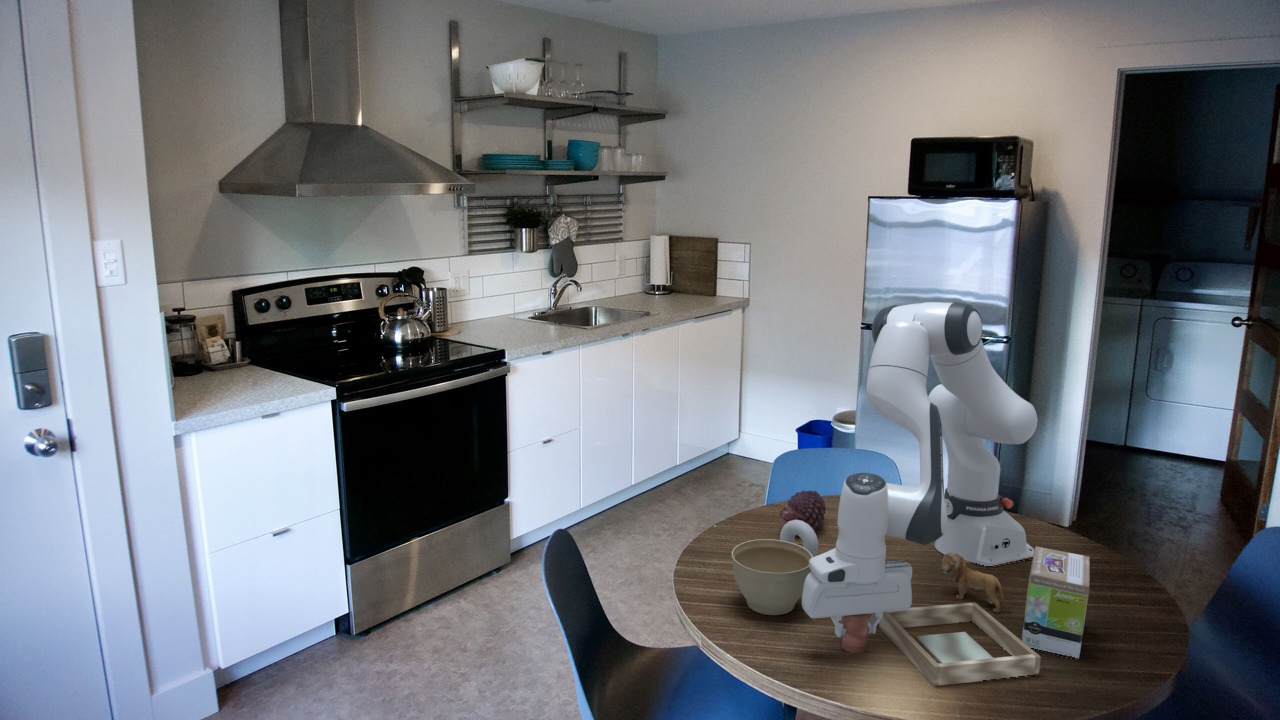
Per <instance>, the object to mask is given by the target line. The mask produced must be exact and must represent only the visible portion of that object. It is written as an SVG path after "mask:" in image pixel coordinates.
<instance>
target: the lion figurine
mask: <svg viewBox="0 0 1280 720" xmlns="http://www.w3.org/2000/svg"><path fill="white" fill-rule="evenodd" d="M941 569H942V571H943V572H942V573H944V574H946V575H947V576H948V577H950V580H951V581H953V583H957V587H958V588H957V589H958V594H955V598H956V599H957V600H961V599H963V598H964V596H965V594H966V593H967V590H968V587H970V588H972V589H975V590H985V593H986V595H987V597H988V600H987V603H988V602H989V603H992V604H991V605H994V606H995V607H994V608H992V612H993V611H994V612H999V613H1000V612H1001V609H1002V608H1001V602H1002V606H1004V608H1005V609H1006V610H1007V611H1008V612H1009V611H1010V612H1012V611H1013V609H1012V608H1011V607H1009V606H1008V605H1007V604H1006V602H1005V597H1004V592H1003V588H1002V585H1001V583H1000V581H999V579H998V577H996V576H994V575H993V574H988V573H983V572H981V571H979V570H976V569H974V567H973V565H972V564H971V562H967V560H964V558H963V557H961V556H959V555H958V554H955V553H952V552H950V553H947V554H943V558H942V563H941ZM998 591H999V595H1000V598H1001V602H1000V601H999V599H998V598H997V594H998ZM989 603H988V604H989ZM993 603H994V604H993ZM994 612H993V613H994Z"/></svg>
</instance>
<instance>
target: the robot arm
mask: <svg viewBox="0 0 1280 720" xmlns="http://www.w3.org/2000/svg"><path fill="white" fill-rule="evenodd" d="M871 325H872V326H871V336H872V340H873V343H874V348H873V351H872V354H871V358H870V361H869V365H868V366H869V367H868V370H867V371H868V373H867V377H866V391H865V393H866V398H867V400H868V402H869V404H870V405H871V408H873V409H874V410H875V412H877V413H878V414H879V415H880V416H882V417H883V418H885V419H886V420H888V421H889V422H891V423H893V424H895V425H897V426H899V427H900V428H903V429H904V430H906V431H908V432H910V433H911V434H912V435H913V436H914V437H915V438H916V440H917V442H918V444H919V473H920V474H919V475H920V476H919V477H920V478H919V479H920V480H919V481H920V483H919V485H917V486H909V485H902V484H897V483H891V482H887V481H886V480H885V479H884V478H883V477H881V476H879V475H877V474H875V473H871V472H857V473H853V474H850V475H849V476H847V477H846V478H845V479H844V481H843V484H842V488H841V492H840V496H839V498H838V509H837V522H836V523H837V525H836V526H837V529H838V536H837V540H836V543H835V547H833V548H832V549H830V550H827V551H826V552H823V553H821V554H819V555H818V554H817V555H816V556H815V557H813V558H811V559H810V560H809V568H810V570H811V572H810V573H809V574H808V575H807V577H806V579H805V582H804V588H803V594H802V596H801V606H802V610H803V611H804V612H805V613H806V615H808V616H809V617H810V618H811V619H822V618H830V619H831V621H832V622H833V624H834V634H835V636H836V637H838V638H842V637H843V636H846V629H847V628H846V627H845V626H844V625H843V623H840V621H842V618H843V617H844V616H847V615H859V614H869V615H870V614H871V616H869V617H870V618H869V620H868V634H867V635H871V634H872V635H873V634H874V635H875V634H876V631H877V626H878V624H880V620H881V619H882V617H883V612H894V611H905V610H908V609H909V608H911V606H912V604H913V593H912V591H913V590H912V581H911V580H912V576H913V567H912V565H911V564H910V563H909V562H906V560H903V559H902V560H901V559H900V560H896V561H895V560H894V561H893V560H887V561H886V558H887V547H886V541H885V540H886V536H889V537H894V538H899V539H904V540H905V541H908V542H912V543H914V544H919V545H921V546H927V545H929V544H931V543H934V548H935V549H936V550H937V551H938V552H939V553H941V554H943V555H944V554H947V553H950V552H952V553H955V554H958V555H959V556H961V557H963V558H964V560H967V562H969V563H973V564H976V563H977V564H976V565H979V564H980V565H979V566H982V565H984V566H983V567H986V566H993V565H998V564H1002V563H1006V562H1010V561H1016V560H1020V559H1023V558H1028V557H1033V555H1034V550H1035V548H1034V547H1033V546H1031V544H1029V543H1027V536H1026V530H1025V528H1024V527H1023V526H1022V525H1021V523H1019V522H1018V521H1017V520H1015V519H1014V518H1013V517H1012V516H1011V515H1010V514H1009V513H1007V511H1005V509H1004V507H1005V508H1007V509H1012V507H1014V501H1013V500H1012V499H1011V498H1010V499H1009V498H1008V497H1003V496H1002V495H1000V494H999V487H1000V477H1001V476H1000V475H1001V465H1000V462H999V459H998V458H997V457H996V455H994V454H993V453H992V452H991V450H989V448H988V447H987V445H986V443H985V441H984V440H987V441H990V442H995V443H998V444H1007V445H1008V444H1009V445H1022V444H1024V443H1026V442H1027V441H1028V440H1030V439H1031V438H1032V437H1033V435H1034V434H1035V432H1036V430H1037V426H1038V415H1037V412H1036V409H1035V407H1034V405H1033V404H1032V403H1031V402H1029V401H1027V400H1025V399H1024V398H1023V397H1021V396H1020V395H1019V394H1018V393H1016V392H1015V391H1014V390H1013V389H1012V388H1011V387H1009V385H1008V384H1007V383H1006V382H1005V381H1004V380H1003V378H1001V376H1000V375H999V374H998V373H997V372H996V370H995V369H994V367H993V365H992V364H991V361H990V358H989V356H988V354H987V351H986V348H985V345H984V343H983V340H982V336H983V321H982V317H981V314H980V312H979V311H978V310H977V308H975V307H974V306H973V305H971V304H970V303H965V302H959V301H954V302H942V301H941V302H940V301H926V302H920V303H910V304H904V305H898V304H894V305H890V306H887V307H884V308H882V309H880V310H879V312H877V314H876V315H875V317H874V318H873V321H872V324H871ZM930 359H931V362H932V365H933V367H934V370H935V372H936V374H937V377H938V379H939V382H940V384H938V385H936V386H935V387H934V388H933V389H932V390H931V391H930V393H929V395H928V392H927V382H928V373H929V364H930ZM943 442H944V444H945V449H946V452H947V453H946V454H947V460H948V464H947V465H948V467H947V483H946V484H947V485H946V488H944V487H945V485H944V483H945V482H944V453H943V452H944V451H943V450H944V449H943V447H944V446H943ZM1030 550H1032V551H1030ZM998 566H999V565H998ZM993 567H994V566H993Z"/></svg>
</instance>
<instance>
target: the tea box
mask: <svg viewBox="0 0 1280 720" xmlns="http://www.w3.org/2000/svg"><path fill="white" fill-rule="evenodd" d="M1031 560H1032V561H1031V567H1030V572H1029V579H1028V583H1027V592H1026V598H1025V599H1026V600H1025V609H1024V616H1023V625H1022V633H1021V635H1022V636H1021V641H1022V642H1024V643H1025V644H1026V645H1027V646H1028V647H1030V648H1034V649H1033V650H1035V649H1038V650H1037V651H1039V650H1043V651H1048V652H1052V653H1057V654H1062V655H1067V656H1072V657H1075V658H1078V659H1080V654H1081V648H1082V643H1083V642H1082V640H1083V634H1084V629H1085V628H1084V627H1085V621H1086V614H1087V608H1088V607H1087V606H1088V602H1089V601H1088V600H1089V594H1090V583H1091V581H1090V579H1091V578H1090V575H1091V574H1090V570H1091V569H1090V567H1091V566H1090V562H1091V561H1090V560H1091V558H1090V556H1088V555H1083V554H1078V553H1077V554H1076V553H1072V552H1067V551H1063V550H1056V549H1051V548H1047V547H1041V546H1035V547H1034V555H1033V559H1031ZM1043 651H1042V652H1043Z"/></svg>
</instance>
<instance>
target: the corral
mask: <svg viewBox="0 0 1280 720" xmlns="http://www.w3.org/2000/svg"><path fill="white" fill-rule="evenodd" d="M970 621H972V622H970ZM959 622H962V623H972V624H974V623H975V624H976V625H977V626H978V627H979V629H980V630H981V629H982V630H983V631H984V632H985V633H986V634H988V635H989V636H990V637H991V638H992V639H994V640H995V641H996V642H997V643H998V644H999V645H1000V646H1001V647H1003V649H1002V650H1003V651H1005V650H1006V651H1007V652H1008V653H1009V654H1010V655H1012V656H1010V655H1009V654H1008V653H1007V652H1006V651H1005V652H1006V653H1007V654H1008V655H1009V656H1001V657H993V656H992V655H991V654H990V653H989V652H988V651H987V650H986V649H984V647H982V646H981V645H980V644H979V643H978V642H976V640H975V639H973V638H972V637H971V636H970V635H969V633H967V632H966V631H960V632H948V633H939V634H938V633H936V634H928V635H927V634H926V635H916V637H915V638H916V640H917V641H916V640H915V639H914V638H913V636H912V635H910V633H909V632H908V631H907V630H906V629H905V628H915V627H916V628H917V627H927V626H928V627H929V626H938V625H939V626H940V625H949V624H960V623H959ZM975 624H974V625H975ZM976 625H975V626H976ZM977 626H976V627H977ZM978 627H977V628H978ZM879 629H881V631H882V632H883V633H884V634H885V635H886V636H887V637H888V638H889V639H890V640H891V641H892V643H893V644H894V645H895V646H896V647H897V648H898V649H899V650H900V651H901V652H902V653H903V654H904V656H905V657H906V658H907V659H908V660H909V661H910V663H912V664H913V666H914V667H915V668H916V669H918V671H919V672H920V673H921V675H923V676H924V677H925V678H926V679H927V680H928V682H929V683H930V684H931V685H932V686H933V687H937V686H946V685H947V686H949V685H956V684H965V683H976V682H984V681H983V680H987V681H992V680H991V679H996V680H1003V679H1002V678H1006V679H1011V678H1010V677H1016V678H1019V677H1018V676H1025V677H1028V676H1027V675H1034V674H1040V667H1041V658H1042V657H1041V656H1040V655H1039V654H1038V653H1037V652H1035V650H1034V649H1031V648H1030V647H1028V646H1027V645H1026V644H1025V643H1024V642H1022V639H1020V638H1018V637H1017V635H1015V634H1014V633H1012V631H1011V630H1009V629H1008V628H1007V627H1006V626H1004V625H1003V624H1002V623H1000V622H999V620H997V619H996V618H995V617H993V616H992V615H991V614H990V613H988V612H987V611H986V610H985V609H984V608H982V606H980V605H979V604H978V603H976V602H975V601H973V602H965V603H954V604H953V603H952V604H942V605H941V604H940V605H938V604H937V605H929V606H918V607H917V606H916V607H910V608H909V609H908V610H905V611H894V612H883V617H882V619H881V620H880V622H879ZM982 630H981V631H982ZM983 631H982V632H983ZM984 632H983V633H984ZM985 633H984V634H985ZM986 634H985V635H986ZM988 635H987V636H988ZM989 636H988V637H989ZM990 637H989V638H990ZM991 638H990V639H991ZM992 639H991V640H992ZM918 642H920V644H921V645H922V646H923V647H924V648H925V649H926V650H927V651H928V652H929V653H930V654H931V655H932V656H933V657H934V658H935V659H936V660H937V661H936V660H935V659H934V658H933V657H932V656H931V655H930V654H929V653H928V652H927V651H926V650H925V649H924V648H923V647H922V646H921V645H920V644H919V643H918ZM996 642H995V643H996ZM997 643H996V644H997ZM998 644H997V645H998ZM999 645H998V646H999ZM1000 646H999V647H1000ZM1001 647H1000V648H1001ZM938 662H939V663H938ZM1000 678H1001V679H1000Z"/></svg>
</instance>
